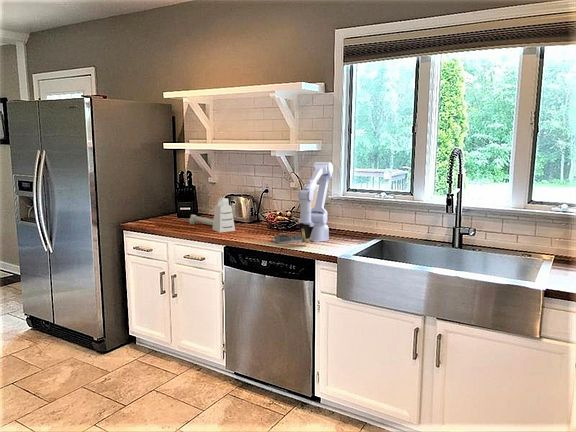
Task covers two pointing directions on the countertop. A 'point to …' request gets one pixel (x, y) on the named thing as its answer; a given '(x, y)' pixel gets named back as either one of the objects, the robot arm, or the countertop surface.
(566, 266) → the countertop surface
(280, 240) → the manifold plate
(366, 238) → the countertop surface
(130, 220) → the countertop surface
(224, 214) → the grater
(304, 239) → the cylinder
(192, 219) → the grey flared rod
